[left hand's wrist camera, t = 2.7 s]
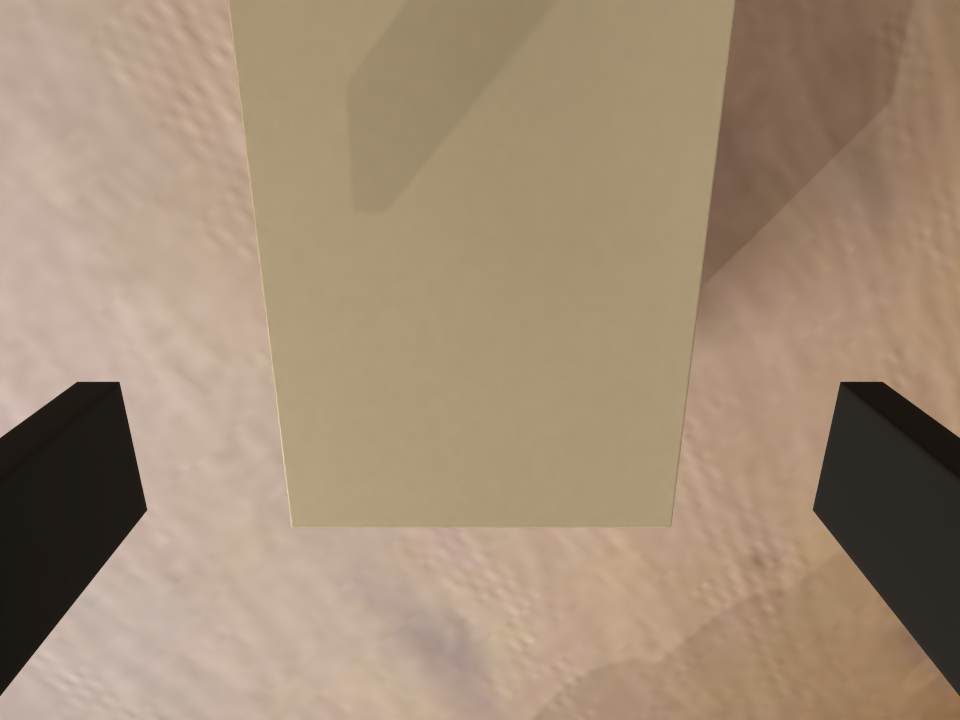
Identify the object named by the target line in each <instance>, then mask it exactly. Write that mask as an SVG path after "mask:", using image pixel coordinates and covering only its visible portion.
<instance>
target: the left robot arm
mask: <svg viewBox="0 0 960 720" xmlns="http://www.w3.org/2000/svg"><path fill="white" fill-rule="evenodd" d="M146 511H147V507H146V502H145V498H144V493H143V488H142V484H141V479H140V475H139V470H138V465H137V461H136V456H135V452H134V447H133V442H132V438H131V433H130V429H129V424H128V419H127V415H126V410H125V405H124V401H123V396H122V392H121V387H120V382H77V383H75V384H74V385H72V386H71V387H70V388H68V389H67V390H66V391H64V392H63V393H61V394H60V395H59V396H57V397H56V398H55V399H53V400H52V401H50V402H49V403H48V404H46V405H45V406H44V407H42V408H41V409H39V410H38V411H37V412H35V413H34V414H33V415H31V416H30V417H28V418H27V419H26V420H24V421H23V422H22V423H20V424H19V425H17V426H16V427H15V428H13V429H12V430H11V431H9V432H8V433H6V434H5V435H4V436H2V437H1V438H0V696H1V694H2V693H3V692H4V691H5V689H6V688H7V687H8V686H9V684H10V683H11V682H12V680H13V679H14V678H15V677H16V675H17V674H18V673H19V672H20V670H21V669H22V668H23V667H24V665H25V664H26V663H27V661H28V660H29V659H30V658H31V656H32V655H33V654H34V653H35V651H36V650H37V649H38V648H39V646H40V645H41V644H42V643H43V641H44V640H45V639H46V637H47V636H48V635H49V634H50V632H51V631H52V630H53V629H54V627H55V626H56V625H57V624H58V622H59V621H60V620H61V618H62V617H63V616H64V615H65V613H66V612H67V611H68V610H69V608H70V607H71V606H72V605H73V603H74V602H75V601H76V599H77V598H78V597H79V596H80V594H81V593H82V592H83V591H84V589H85V588H86V587H87V586H88V584H89V583H90V582H91V580H92V579H93V578H94V577H95V575H96V574H97V573H98V572H99V570H100V569H101V568H102V567H103V565H104V564H105V563H106V561H107V560H108V559H109V558H110V556H111V555H112V554H113V553H114V551H115V550H116V549H117V548H118V546H119V545H120V544H121V543H122V541H123V540H124V539H125V537H126V536H127V535H128V534H129V532H130V531H131V530H132V529H133V527H134V526H135V525H136V524H137V522H138V521H139V520H140V518H141V517H142V516H143V515H144V513H145V512H146ZM813 511H814V512H815V513H816V515H817V516H818V517H819V518H820V520H821V521H822V522H823V524H824V525H825V526H826V527H827V529H828V530H829V531H830V532H831V534H832V535H833V536H834V537H835V539H836V540H837V541H838V543H839V544H840V545H841V546H842V548H843V549H844V550H845V551H846V553H847V554H848V555H849V556H850V558H851V559H852V560H853V561H854V563H855V564H856V565H857V567H858V568H859V569H860V570H861V572H862V573H863V574H864V575H865V577H866V578H867V579H868V580H869V582H870V583H871V584H872V586H873V587H874V588H875V589H876V591H877V592H878V593H879V594H880V596H881V597H882V598H883V599H884V601H885V602H886V603H887V605H888V606H889V607H890V608H891V610H892V611H893V612H894V613H895V615H896V616H897V617H898V618H899V620H900V621H901V622H902V624H903V625H904V626H905V627H906V629H907V630H908V631H909V632H910V634H911V635H912V636H913V637H914V639H915V640H916V641H917V643H918V644H919V645H920V646H921V648H922V649H923V650H924V651H925V653H926V654H927V655H928V656H929V658H930V659H931V660H932V661H933V663H934V664H935V665H936V667H937V668H938V669H939V670H940V672H941V673H942V674H943V675H944V677H945V678H946V679H947V680H948V682H949V683H950V684H951V686H952V687H953V688H954V689H955V691H956V692H957V693H958V694H959V696H960V438H959V437H958V436H956V435H955V434H954V433H952V432H951V431H949V430H948V429H947V428H945V427H944V426H943V425H941V424H940V423H938V422H937V421H936V420H934V419H933V418H932V417H930V416H929V415H927V414H926V413H925V412H923V411H922V410H921V409H919V408H918V407H916V406H915V405H914V404H912V403H911V402H910V401H908V400H907V399H905V398H904V397H903V396H901V395H900V394H899V393H897V392H896V391H894V390H893V389H892V388H890V387H889V386H888V385H886V384H885V383H883V382H840V387H839V392H838V396H837V401H836V405H835V410H834V415H833V419H832V424H831V429H830V433H829V438H828V442H827V447H826V452H825V456H824V461H823V465H822V470H821V475H820V479H819V484H818V488H817V493H816V498H815V502H814V507H813Z"/></svg>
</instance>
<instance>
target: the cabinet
mask: <svg viewBox="0 0 960 720" xmlns="http://www.w3.org/2000/svg"><path fill="white" fill-rule="evenodd" d="M735 3H736V0H228V8H229V16H230V25H231V33H232V41H233V49H234V58H235V66H236V74H237V82H238V91H239V99H240V107H241V115H242V124H243V132H244V140H245V148H246V157H247V165H248V173H249V181H250V190H251V198H252V206H253V214H254V223H255V231H256V239H257V247H258V256H259V264H260V272H261V280H262V289H263V297H264V305H265V313H266V322H267V330H268V338H269V346H270V355H271V363H272V371H273V379H274V388H275V396H276V404H277V412H278V421H279V429H280V437H281V445H282V454H283V462H284V470H285V478H286V487H287V495H288V503H289V511H290V520H291V526H292V527H293V528H634V527H671V523H672V515H673V507H674V498H675V490H676V482H677V474H678V466H679V458H680V450H681V442H682V434H683V425H684V417H685V409H686V401H687V393H688V385H689V377H690V369H691V360H692V352H693V344H694V336H695V328H696V320H697V312H698V304H699V296H700V287H701V279H702V271H703V263H704V255H705V247H706V239H707V231H708V223H709V214H710V206H711V198H712V190H713V182H714V174H715V166H716V158H717V149H718V141H719V133H720V125H721V117H722V109H723V101H724V93H725V85H726V76H727V68H728V60H729V52H730V44H731V36H732V28H733V20H734V12H735Z"/></svg>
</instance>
